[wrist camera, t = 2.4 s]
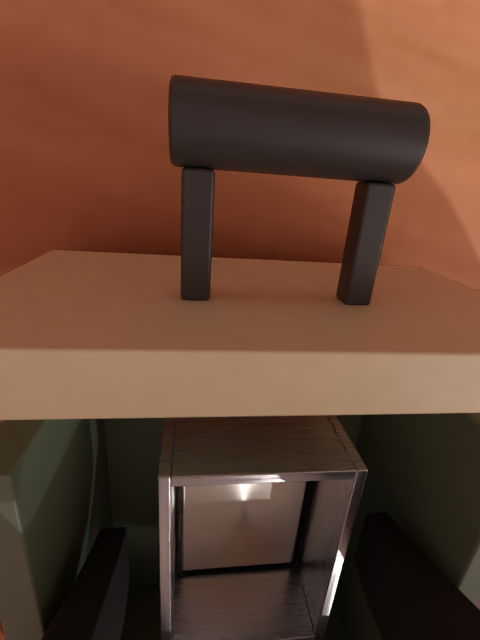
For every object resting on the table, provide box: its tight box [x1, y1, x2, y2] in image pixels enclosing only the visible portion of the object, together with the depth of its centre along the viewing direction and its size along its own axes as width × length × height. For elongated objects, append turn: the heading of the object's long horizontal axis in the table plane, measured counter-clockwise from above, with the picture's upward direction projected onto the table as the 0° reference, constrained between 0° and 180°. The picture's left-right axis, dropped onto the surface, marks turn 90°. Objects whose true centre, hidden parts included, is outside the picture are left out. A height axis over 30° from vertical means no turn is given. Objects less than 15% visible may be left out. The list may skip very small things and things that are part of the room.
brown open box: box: [157, 415, 368, 640], centre depth 11 cm, size 5×7×4 cm
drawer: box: [0, 75, 480, 640], centre depth 11 cm, size 19×12×7 cm, turn 176°
